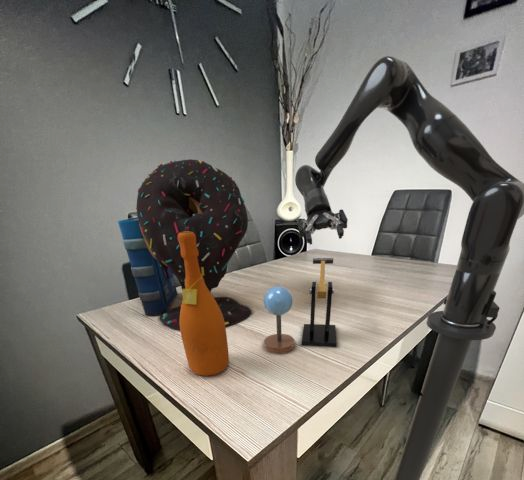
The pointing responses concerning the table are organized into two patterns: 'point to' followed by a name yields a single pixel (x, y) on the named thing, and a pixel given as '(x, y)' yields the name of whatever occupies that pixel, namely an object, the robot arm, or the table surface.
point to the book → (147, 271)
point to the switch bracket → (319, 332)
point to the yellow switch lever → (322, 275)
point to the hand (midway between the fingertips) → (325, 239)
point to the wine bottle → (200, 316)
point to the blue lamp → (278, 319)
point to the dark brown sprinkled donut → (193, 225)
